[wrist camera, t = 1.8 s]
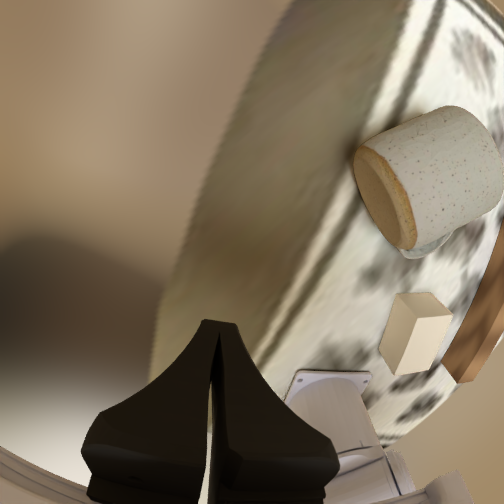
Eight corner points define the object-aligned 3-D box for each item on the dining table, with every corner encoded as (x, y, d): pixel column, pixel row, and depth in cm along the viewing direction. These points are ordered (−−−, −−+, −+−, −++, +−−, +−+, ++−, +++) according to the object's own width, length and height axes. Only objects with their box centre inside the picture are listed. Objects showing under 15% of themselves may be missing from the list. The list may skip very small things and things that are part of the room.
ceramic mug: (332, 144, 18) (386, 153, 11) (421, 105, 17) (492, 104, 10) (381, 269, 22) (431, 323, 15) (455, 224, 21) (515, 260, 14)
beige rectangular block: (410, 344, 25) (428, 369, 22) (377, 348, 25) (393, 376, 21) (430, 292, 23) (453, 314, 19) (395, 293, 23) (417, 318, 19)
